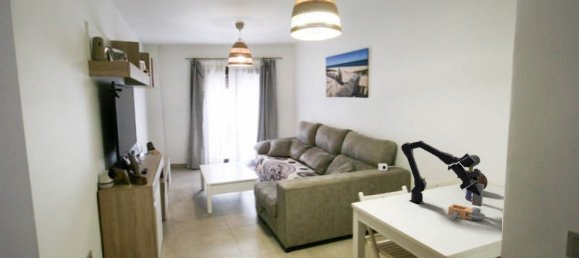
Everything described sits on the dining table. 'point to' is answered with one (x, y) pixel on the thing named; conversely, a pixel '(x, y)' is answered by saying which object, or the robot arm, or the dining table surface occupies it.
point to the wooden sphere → (482, 180)
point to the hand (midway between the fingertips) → (480, 194)
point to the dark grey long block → (475, 198)
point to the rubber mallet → (477, 159)
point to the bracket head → (465, 212)
